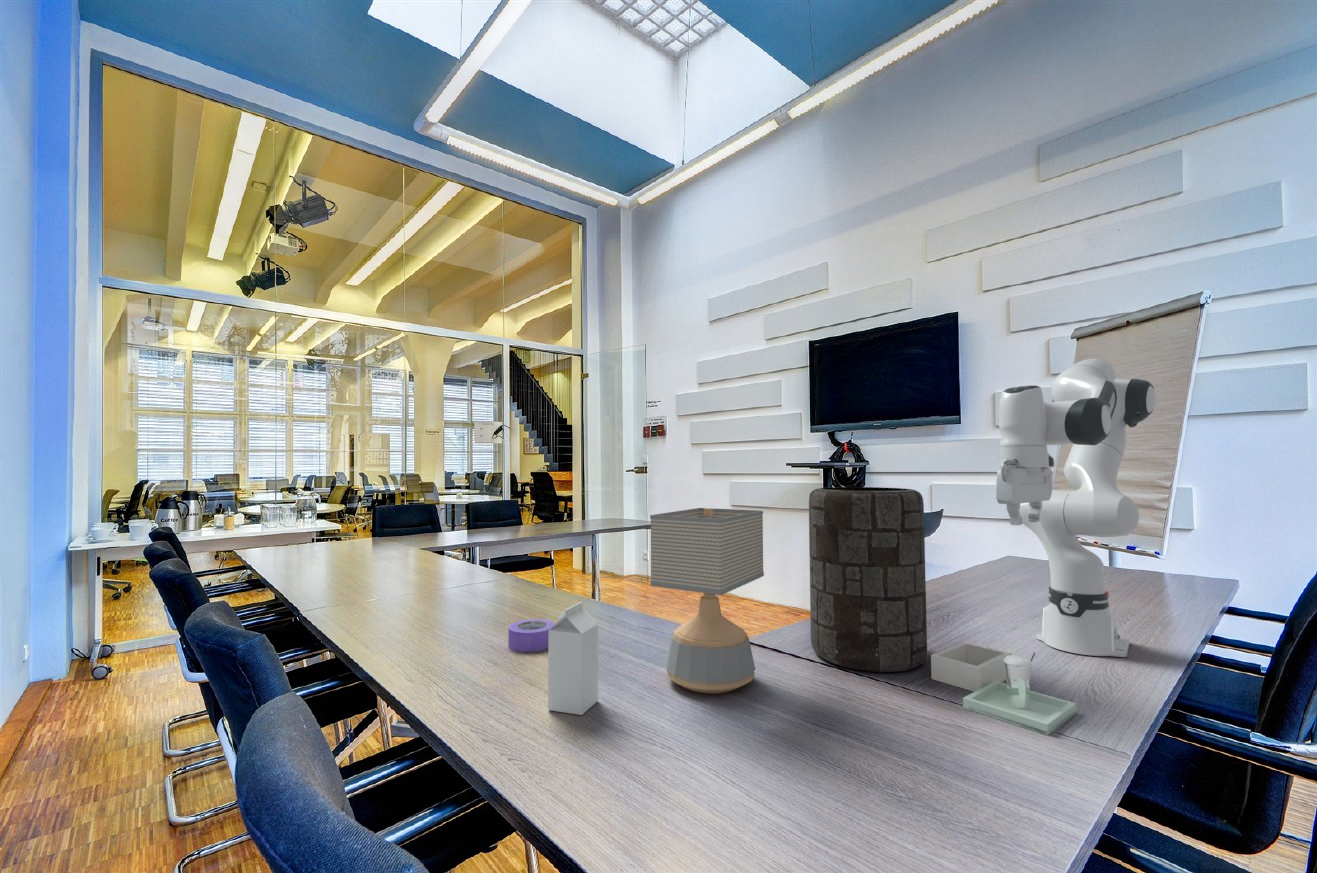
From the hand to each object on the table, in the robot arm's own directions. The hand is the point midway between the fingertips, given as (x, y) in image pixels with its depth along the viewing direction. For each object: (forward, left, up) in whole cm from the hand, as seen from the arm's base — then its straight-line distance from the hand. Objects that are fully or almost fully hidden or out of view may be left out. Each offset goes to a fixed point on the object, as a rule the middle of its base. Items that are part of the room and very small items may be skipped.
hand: (1025, 523), depth 125 cm
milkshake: (+18, +5, -33) cm, 38 cm away
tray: (+19, +5, -33) cm, 38 cm away
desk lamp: (+55, -41, -33) cm, 76 cm away
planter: (+14, -30, -33) cm, 47 cm away
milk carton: (+84, -48, -33) cm, 102 cm away
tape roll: (+74, -88, -34) cm, 120 cm away
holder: (+9, -8, -33) cm, 35 cm away
